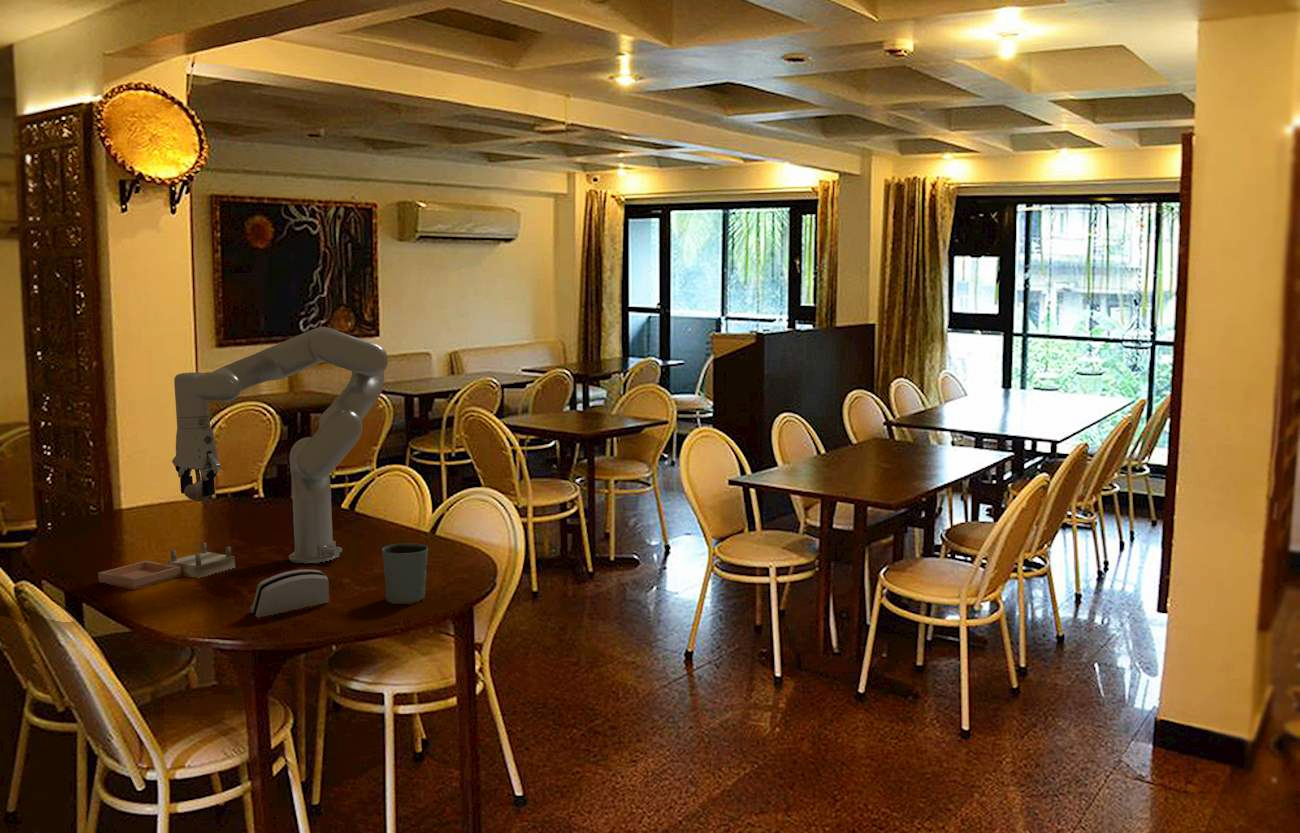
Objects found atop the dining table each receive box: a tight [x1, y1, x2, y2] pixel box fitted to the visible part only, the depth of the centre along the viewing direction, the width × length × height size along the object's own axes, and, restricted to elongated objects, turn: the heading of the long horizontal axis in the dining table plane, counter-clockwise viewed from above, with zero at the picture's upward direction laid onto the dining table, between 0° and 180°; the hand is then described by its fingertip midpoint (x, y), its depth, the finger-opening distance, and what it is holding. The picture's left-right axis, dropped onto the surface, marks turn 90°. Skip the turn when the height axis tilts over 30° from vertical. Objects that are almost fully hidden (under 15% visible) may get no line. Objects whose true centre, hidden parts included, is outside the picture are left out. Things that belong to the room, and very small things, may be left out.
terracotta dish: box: [97, 560, 182, 590], centre depth 270 cm, size 13×13×2 cm
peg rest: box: [167, 542, 236, 579], centre depth 278 cm, size 11×11×6 cm
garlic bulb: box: [184, 469, 212, 503], centre depth 275 cm, size 8×7×8 cm
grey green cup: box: [381, 542, 429, 603], centre depth 252 cm, size 10×10×12 cm
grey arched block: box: [249, 569, 330, 617], centre depth 245 cm, size 17×5×10 cm, turn 132°
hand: (198, 493), depth 276 cm, fingers closed on garlic bulb, 7 cm apart
